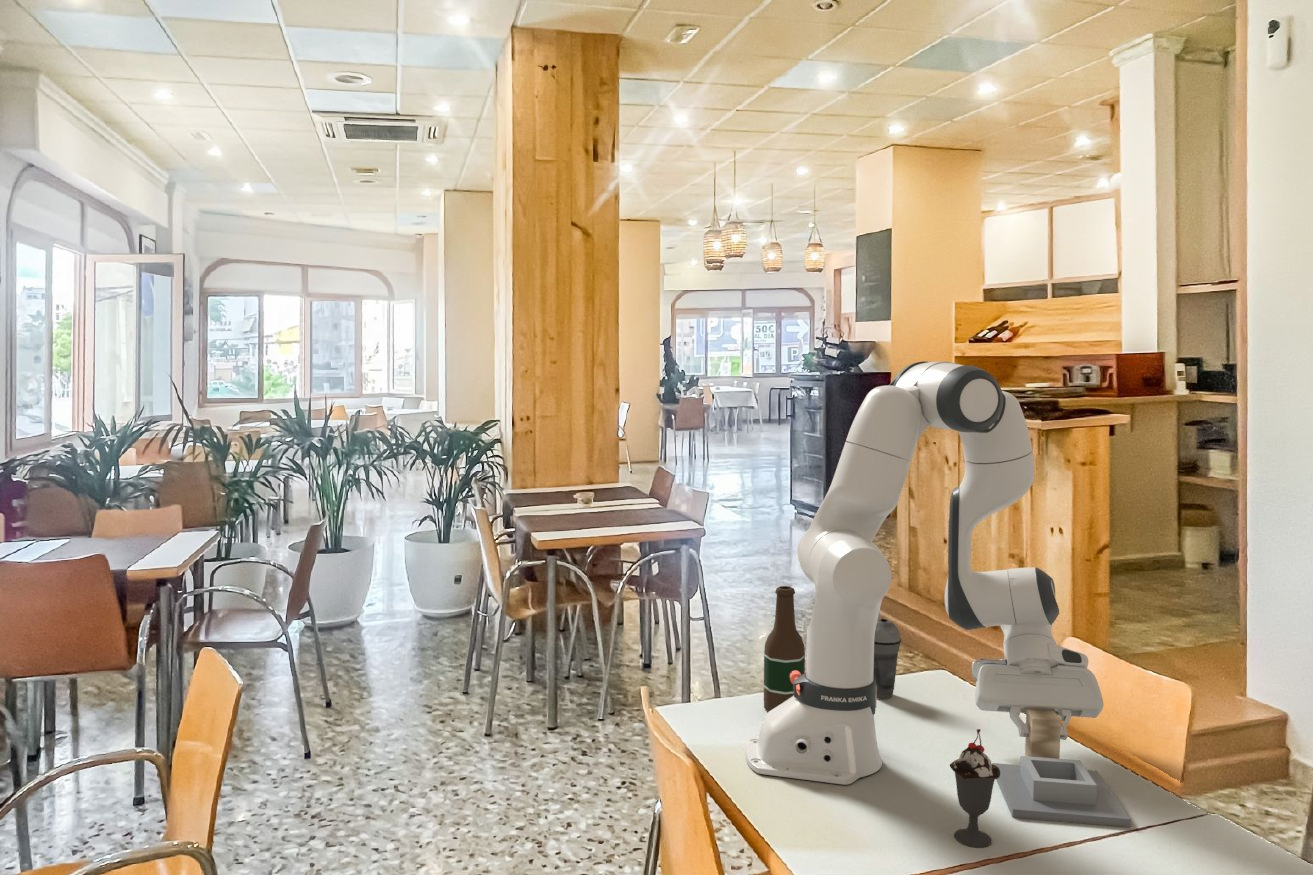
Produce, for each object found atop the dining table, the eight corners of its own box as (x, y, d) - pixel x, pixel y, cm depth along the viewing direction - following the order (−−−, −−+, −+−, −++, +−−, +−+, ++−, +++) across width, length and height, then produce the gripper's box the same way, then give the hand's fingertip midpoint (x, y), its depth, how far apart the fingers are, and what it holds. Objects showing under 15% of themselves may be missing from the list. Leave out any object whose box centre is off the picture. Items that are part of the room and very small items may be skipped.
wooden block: (1030, 765, 149) (1032, 718, 148) (1024, 754, 153) (1026, 708, 152) (1059, 767, 148) (1060, 720, 147) (1052, 756, 152) (1053, 710, 152)
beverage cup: (901, 703, 177) (903, 603, 176) (863, 700, 178) (865, 601, 177) (898, 690, 184) (900, 594, 183) (862, 687, 186) (864, 592, 184)
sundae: (986, 825, 129) (989, 723, 128) (1006, 850, 122) (1009, 743, 121) (940, 826, 128) (943, 724, 127) (958, 851, 122) (960, 743, 121)
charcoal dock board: (1012, 817, 131) (1013, 789, 131) (992, 769, 147) (992, 745, 147) (1130, 827, 128) (1131, 798, 128) (1096, 777, 144) (1097, 752, 144)
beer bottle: (782, 699, 179) (783, 580, 177) (812, 711, 173) (814, 588, 171) (755, 708, 174) (756, 586, 172) (785, 720, 168) (786, 594, 166)
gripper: (972, 649, 158) (980, 724, 149) (1097, 656, 154) (1113, 733, 145) (967, 666, 163) (975, 740, 154) (1088, 673, 159) (1103, 749, 150)
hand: (1043, 737), depth 149 cm, fingers closed on wooden block, 4 cm apart
